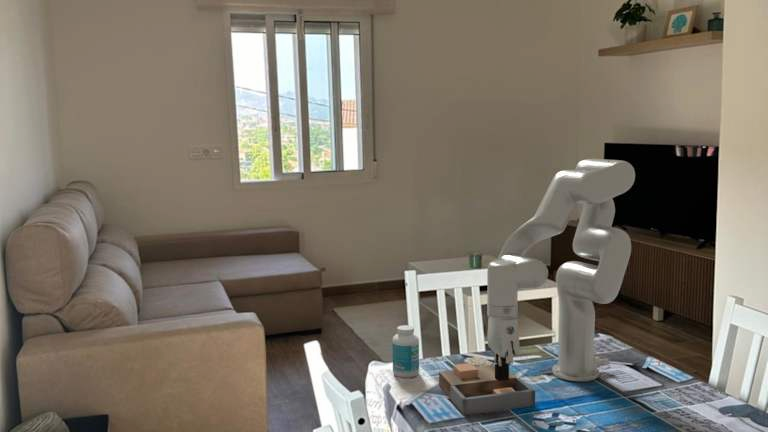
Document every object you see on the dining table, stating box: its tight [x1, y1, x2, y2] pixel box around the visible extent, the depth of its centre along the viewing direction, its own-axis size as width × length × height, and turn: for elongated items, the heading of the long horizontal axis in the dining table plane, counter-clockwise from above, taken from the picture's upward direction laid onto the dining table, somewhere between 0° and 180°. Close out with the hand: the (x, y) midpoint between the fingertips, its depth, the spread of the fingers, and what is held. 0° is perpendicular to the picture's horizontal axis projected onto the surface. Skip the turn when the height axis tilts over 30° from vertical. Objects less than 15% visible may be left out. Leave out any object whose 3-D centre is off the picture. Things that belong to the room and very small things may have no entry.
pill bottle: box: [392, 324, 420, 379], centre depth 194 cm, size 8×7×14 cm
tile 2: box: [493, 388, 515, 394], centre depth 175 cm, size 5×5×2 cm
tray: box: [449, 377, 536, 416], centre depth 174 cm, size 19×9×4 cm, turn 105°
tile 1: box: [452, 362, 478, 379], centre depth 183 cm, size 5×5×2 cm
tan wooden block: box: [438, 364, 518, 399], centre depth 183 cm, size 18×10×4 cm, turn 105°
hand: (501, 379), depth 177 cm, fingers closed
